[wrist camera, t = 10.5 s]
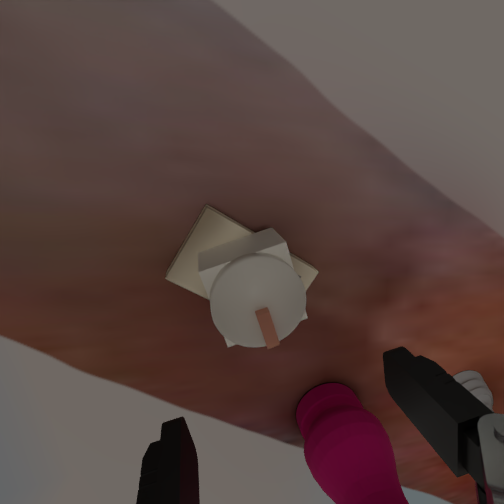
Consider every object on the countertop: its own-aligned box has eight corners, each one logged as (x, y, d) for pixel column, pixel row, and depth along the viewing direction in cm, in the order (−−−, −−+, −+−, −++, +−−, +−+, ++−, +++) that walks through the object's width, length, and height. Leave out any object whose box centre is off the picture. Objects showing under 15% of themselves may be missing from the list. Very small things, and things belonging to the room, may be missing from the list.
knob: (196, 251, 23) (196, 282, 18) (272, 225, 23) (295, 248, 18) (222, 319, 25) (229, 366, 19) (292, 294, 25) (319, 333, 20)
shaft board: (166, 271, 25) (161, 297, 20) (206, 203, 24) (209, 216, 19) (273, 323, 28) (288, 356, 23) (312, 265, 27) (336, 288, 22)
